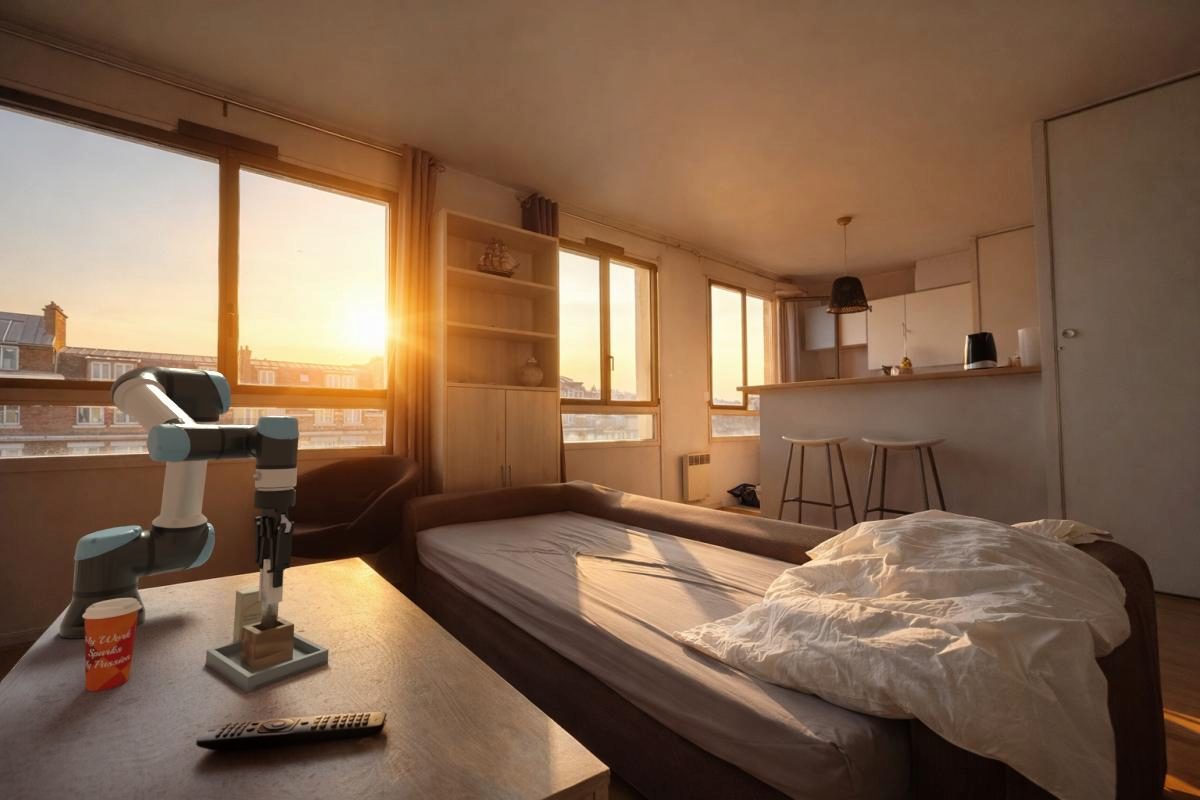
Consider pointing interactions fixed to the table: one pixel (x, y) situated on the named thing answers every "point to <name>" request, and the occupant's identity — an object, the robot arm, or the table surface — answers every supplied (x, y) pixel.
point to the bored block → (267, 644)
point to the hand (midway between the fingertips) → (270, 600)
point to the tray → (249, 679)
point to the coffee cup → (109, 642)
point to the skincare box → (246, 610)
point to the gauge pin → (267, 611)
